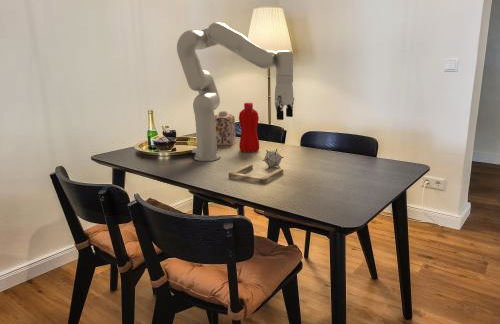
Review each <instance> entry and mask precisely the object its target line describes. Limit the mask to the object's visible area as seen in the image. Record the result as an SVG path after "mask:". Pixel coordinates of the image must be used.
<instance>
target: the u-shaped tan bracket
mask: <svg viewBox="0 0 500 324" xmlns="http://www.w3.org/2000/svg"><path fill="white" fill-rule="evenodd" d="M253 169H254V167H253V164H250V163H248V164H246V165H244V166H241V167H239V168H238V169H237V168H236V169H235V170H232V171H231V172H229V173H228V179H234V180H238V181H245V182H250V183H255V184H256V183H257V184H261V185H266V184H268V183H270V182H271V181H273V180H274V179H276V178H279V177H280V176H282V175H283V174H284V169H283V168H277V169H275V170H273V171H272V172H270V173H268V174H266V175H264V176H263V177H262V176H257V175H252V174H246V173H248V172H249V171H252V170H253Z"/></svg>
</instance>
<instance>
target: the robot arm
mask: <svg viewBox="0 0 500 324" xmlns="http://www.w3.org/2000/svg"><path fill="white" fill-rule="evenodd" d="M216 45H217V46H218V45H220V46H221V47H223V48H225V49H227V50H229V51H230V52H233V54H236V55H237V56H239V57H241V58H242V59H244V60H246V61H247V62H249V63H250V64H253V65H254V66H256V67H258V68H261V69H265V70H267V69H270V68H271V69H272V68H275V79H276V80H275V89H274V106H275V111H276V120H277V121H284V119H285V117H287V118H289V117H290V118H292V117H293V116H294V113H293V112H294V109H293V108H294V103H295V102H294V101H295V97H294V85H293V83H294V52H293V51H292V50H277V51H274V50H265V49H264V48H262V47H260V46H259V45H256V44H255V43H253V42H252V41H250V40H249V38H247V36H245V35H244V34H242V33H240V32H238V31H236V30H234V29H232V28H231V27H229V26H228V25H227V24H226V23H222V22H217V21H216V22H212V23H211V24H210V25H208V27H207V28H204V29H201V30H197V29H188V30H186V31H184V32H183V33H182V34H181V35H180V36H179V37H178V40H177V43H176V53H177V56H178V59H179V62H180V65H181V66H182V71H183V74H184V76H185V79H186V82H187V85H188V87H189V88H190V90H191V91H194V92H197V93H198V94H197V95H196V96H195V97H194V99H193V103H192V107H193V113H194V120H195V121H194V122H195V133H196V134H195V135H196V136H195V137H196V147H193V148H192V150H191V153H193V154H194V160H195V161H198V162H213V161H217V160H219V159H221V154H219V153H218V145H217V142H216V122H215V115H216V114H215V112H214V111H215V110H217V108H219V106H220V103H221V99H220V98H221V97H220V95H219V91H218V89H217V86H216V83H215V81H214V77H213V76H212V74H211V73H210V72H209V71H208V70H205V69H203V66H202V64H201V61H200V59H199V56H198V54H197V53H196V52H197V51H196V50H203V49H207V48H211V47H214V46H216ZM285 106H286V108H285V114H284V107H285ZM284 116H285V117H284Z"/></svg>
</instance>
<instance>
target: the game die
mask: <svg viewBox="0 0 500 324" xmlns="http://www.w3.org/2000/svg"><path fill="white" fill-rule="evenodd" d="M265 151H266V153H265V156H264V158H263V159H262V161H264V163H266V165H267V167H268V169H270V168H276V167H278V169H281V168H280V164H281V161H282V159H283V158H284V156H282V155H281V154H280V153H279V152H278V148H276V149H275V150H267V149H266V150H265Z"/></svg>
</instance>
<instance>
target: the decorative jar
mask: <svg viewBox="0 0 500 324" xmlns="http://www.w3.org/2000/svg"><path fill="white" fill-rule="evenodd" d="M214 115H215V122H216V142H217V146H234V144H235V143H236V120H235V119H236V118H235V115H234V114H231V113H230V114H229V113H228V111H225V110H224V111H223V110H221V111H219V112H218V114H214Z"/></svg>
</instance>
